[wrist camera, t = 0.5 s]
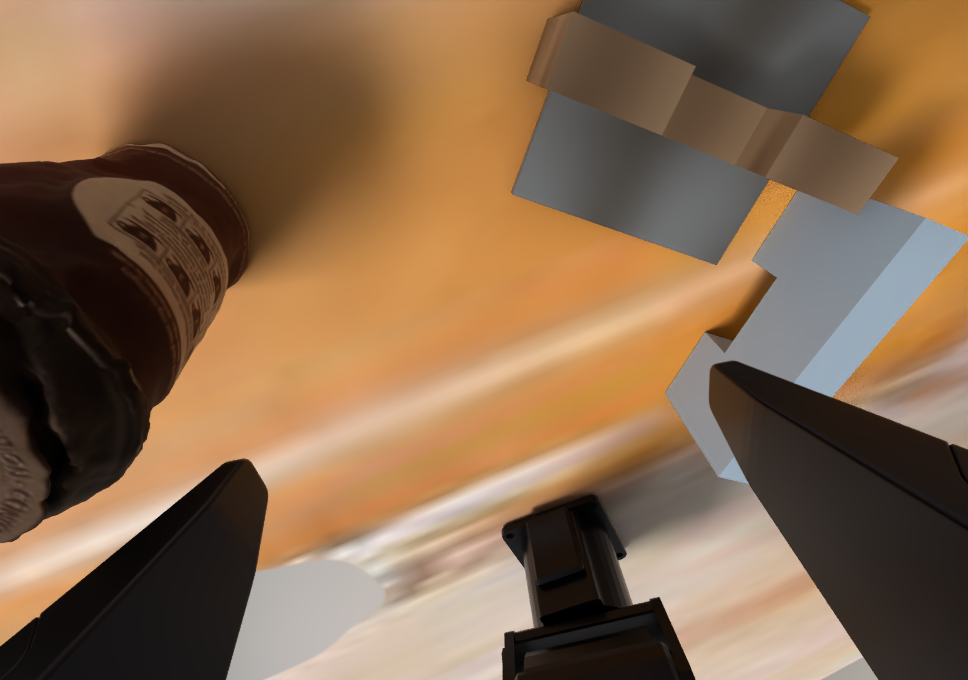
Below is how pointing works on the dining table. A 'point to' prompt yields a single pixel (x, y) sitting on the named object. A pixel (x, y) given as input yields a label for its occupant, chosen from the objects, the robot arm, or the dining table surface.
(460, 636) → the dining table surface
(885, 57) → the dining table surface
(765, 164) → the slotted base
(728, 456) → the pale blue slat
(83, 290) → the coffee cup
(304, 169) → the dining table surface
